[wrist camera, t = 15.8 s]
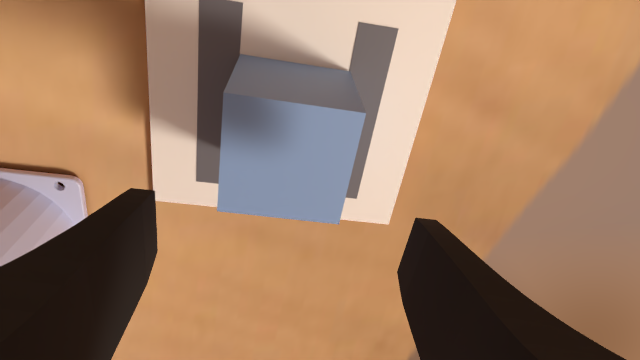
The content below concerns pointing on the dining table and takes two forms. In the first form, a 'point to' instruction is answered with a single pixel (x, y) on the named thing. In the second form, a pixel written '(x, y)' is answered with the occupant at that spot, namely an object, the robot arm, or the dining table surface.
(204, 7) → the letter card
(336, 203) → the blue cube
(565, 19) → the dining table surface
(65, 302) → the robot arm
